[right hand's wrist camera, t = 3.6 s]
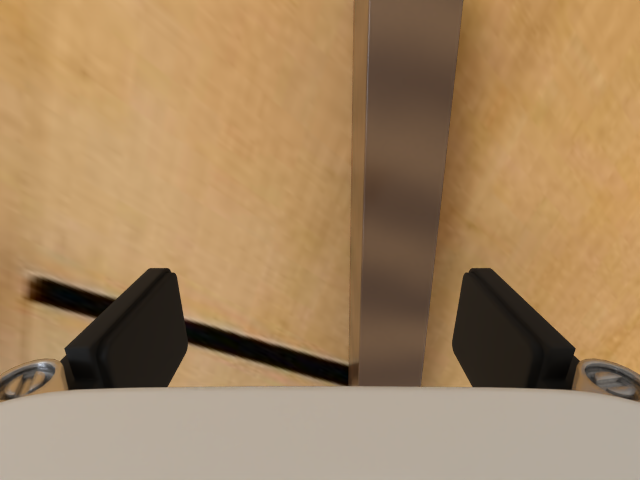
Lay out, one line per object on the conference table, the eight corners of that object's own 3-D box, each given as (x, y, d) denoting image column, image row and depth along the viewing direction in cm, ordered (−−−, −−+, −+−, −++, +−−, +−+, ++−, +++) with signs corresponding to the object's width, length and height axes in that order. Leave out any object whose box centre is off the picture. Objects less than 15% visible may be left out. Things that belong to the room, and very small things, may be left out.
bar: (353, -11, 21) (370, -59, 15) (425, -12, 21) (470, -60, 15) (345, 622, 48) (349, 697, 42) (377, 620, 48) (386, 696, 42)
